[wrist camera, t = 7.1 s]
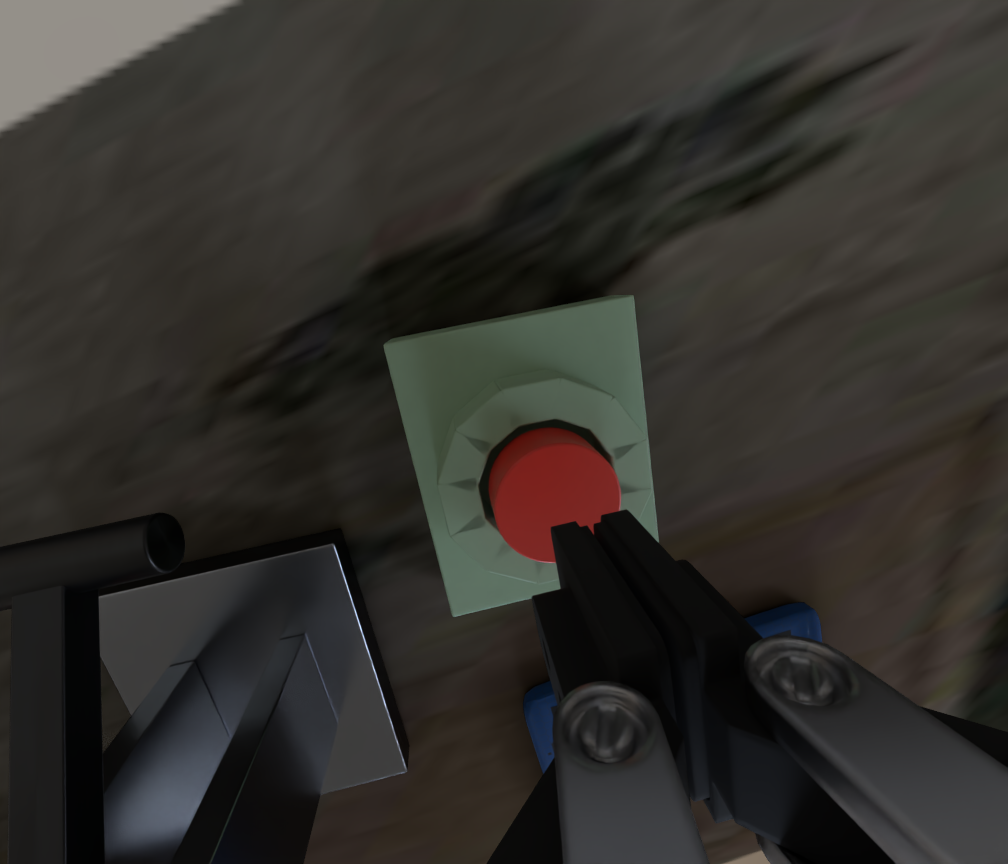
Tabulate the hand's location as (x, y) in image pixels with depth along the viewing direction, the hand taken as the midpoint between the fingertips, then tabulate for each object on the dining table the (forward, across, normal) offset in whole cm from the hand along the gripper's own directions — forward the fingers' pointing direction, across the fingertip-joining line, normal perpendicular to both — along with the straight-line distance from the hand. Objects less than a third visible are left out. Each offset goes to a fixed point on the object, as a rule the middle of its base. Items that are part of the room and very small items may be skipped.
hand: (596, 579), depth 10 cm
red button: (+5, 0, 0) cm, 5 cm away
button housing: (+8, 0, 0) cm, 9 cm away
